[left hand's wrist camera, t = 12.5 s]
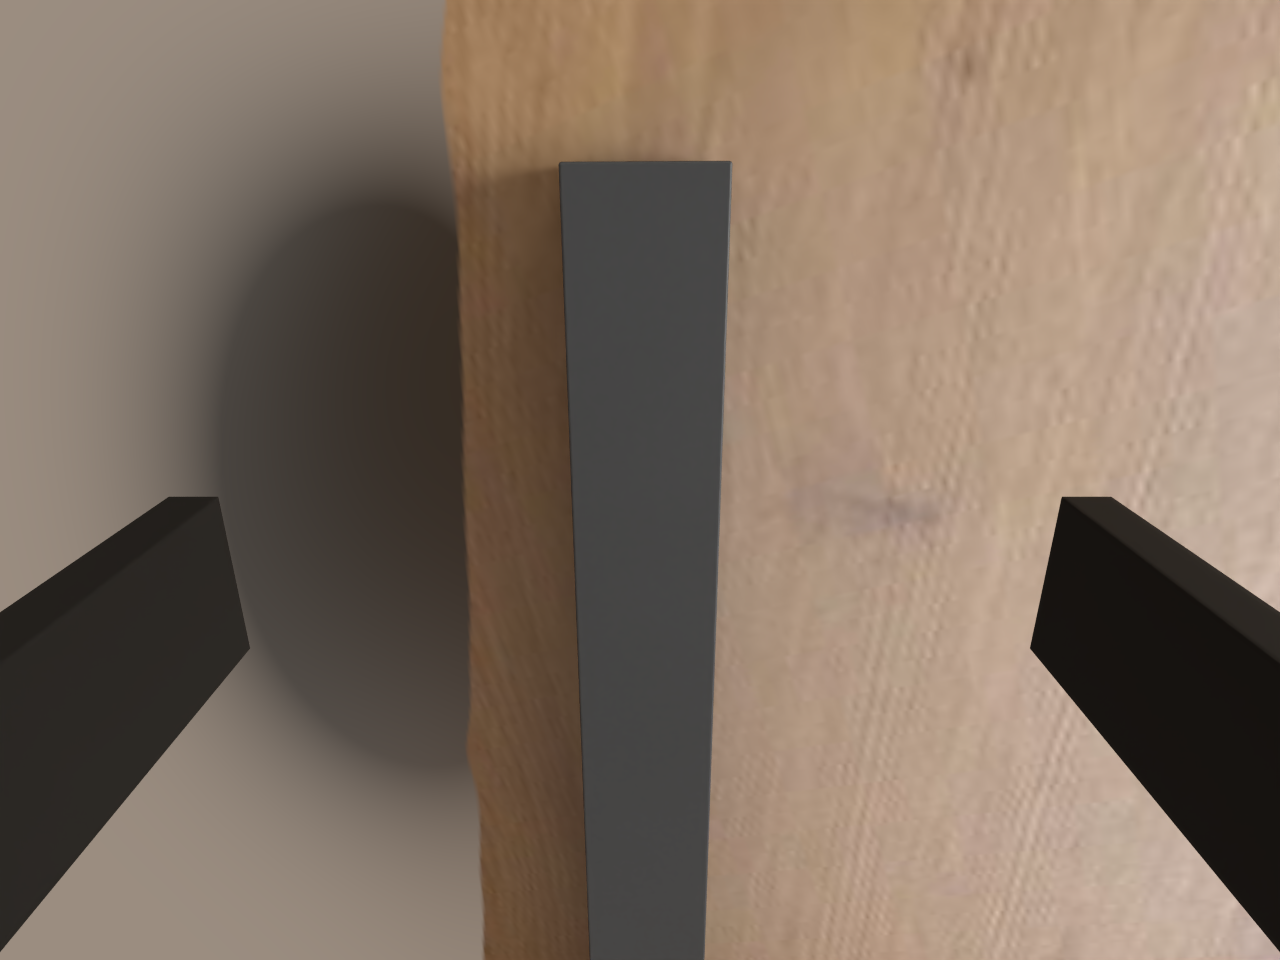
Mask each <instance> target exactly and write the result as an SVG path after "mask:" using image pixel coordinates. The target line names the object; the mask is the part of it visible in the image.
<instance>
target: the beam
mask: <svg viewBox="0 0 1280 960" xmlns="http://www.w3.org/2000/svg"><path fill="white" fill-rule="evenodd" d="M559 186H560V211H561V237H562V262H563V288H564V313H565V339H566V364H567V390H568V415H569V441H570V466H571V492H572V517H573V543H574V568H575V594H576V619H577V645H578V670H579V696H580V721H581V747H582V773H583V798H584V824H585V849H586V875H587V900H588V926H589V951H590V960H704V954H705V925H706V897H707V868H708V840H709V811H710V783H711V755H712V726H713V698H714V669H715V641H716V612H717V584H718V555H719V527H720V499H721V470H722V442H723V413H724V385H725V356H726V328H727V299H728V271H729V242H730V214H731V186H732V162H731V161H627V162H560V163H559Z"/></svg>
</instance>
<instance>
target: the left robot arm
mask: <svg viewBox="0 0 1280 960" xmlns="http://www.w3.org/2000/svg"><path fill="white" fill-rule="evenodd" d="M249 649H250V646H249V642H248V637H247V632H246V627H245V623H244V618H243V613H242V609H241V604H240V599H239V594H238V589H237V584H236V580H235V575H234V570H233V565H232V561H231V556H230V551H229V547H228V542H227V537H226V532H225V528H224V523H223V518H222V513H221V508H220V504H219V499H218V497H168V498H167V499H165V500H164V501H162V502H161V503H159V504H158V505H156V506H155V507H153V508H152V509H150V510H149V511H148V512H146V513H145V514H143V515H142V516H140V517H139V518H137V519H136V520H134V521H133V522H131V523H130V524H129V525H127V526H126V527H124V528H123V529H121V530H120V531H118V532H117V533H115V534H114V535H113V536H111V537H110V538H108V539H107V540H105V541H104V542H102V543H101V544H99V545H98V546H96V547H95V548H94V549H92V550H91V551H89V552H88V553H86V554H85V555H83V556H82V557H80V558H79V559H77V560H76V561H75V562H73V563H72V564H70V565H69V566H67V567H66V568H64V569H63V570H61V571H60V572H58V573H57V574H55V575H54V576H53V577H51V578H50V579H48V580H47V581H45V582H44V583H42V584H41V585H39V586H38V587H37V588H35V589H34V590H32V591H31V592H29V593H28V594H26V595H25V596H23V597H22V598H20V599H19V600H18V601H16V602H15V603H13V604H12V605H10V606H9V607H7V608H6V609H4V610H3V611H1V612H0V951H1V950H2V949H3V948H4V947H5V945H6V944H7V943H8V942H9V940H10V939H11V938H12V937H13V936H14V934H15V933H16V932H17V931H18V930H19V928H20V927H21V926H22V925H23V924H24V922H25V921H26V920H27V919H28V917H29V916H30V915H31V914H32V913H33V911H34V910H35V909H36V908H37V906H38V905H39V904H40V903H41V902H42V900H43V899H44V898H45V897H46V896H47V894H48V893H49V892H50V891H51V889H52V888H53V887H54V886H55V885H56V883H57V882H58V881H59V880H60V879H61V877H62V876H63V875H64V874H65V872H66V871H67V870H68V869H69V868H70V866H71V865H72V864H73V863H74V862H75V860H76V859H77V858H78V857H79V855H80V854H81V853H82V852H83V851H84V849H85V848H86V847H87V846H88V844H89V843H90V842H91V841H92V840H93V838H94V837H95V836H96V835H97V833H98V832H99V831H100V830H101V829H102V828H103V826H104V825H105V824H106V823H107V821H108V820H109V819H110V818H111V817H112V815H113V814H114V813H115V812H116V811H117V809H118V808H119V807H120V806H121V804H122V803H123V802H124V801H125V800H126V798H127V797H128V796H129V795H130V793H131V792H132V791H133V790H134V789H135V787H136V786H137V785H138V784H139V783H140V781H141V780H142V779H143V778H144V776H145V775H146V774H147V773H148V772H149V770H150V769H151V768H152V767H153V766H154V764H155V763H156V762H157V761H158V759H159V758H160V757H161V756H162V755H163V753H164V752H165V751H166V750H167V748H168V747H169V746H170V745H171V744H172V742H173V741H174V740H175V739H176V738H177V736H178V735H179V734H180V733H181V732H182V730H183V729H184V728H185V727H186V725H187V724H188V723H189V722H190V720H191V719H192V718H193V717H194V716H195V714H196V713H197V712H198V711H199V710H200V708H201V707H202V706H203V705H204V704H205V702H206V701H207V700H208V699H209V697H210V696H211V695H212V694H213V693H214V691H215V690H216V689H217V688H218V687H219V685H220V684H221V683H222V682H223V680H224V679H225V678H226V677H227V676H228V674H229V673H230V672H231V671H232V669H233V668H234V667H235V666H236V665H237V663H238V662H239V661H240V660H241V659H242V657H243V656H244V655H245V654H246V652H247V651H248V650H249ZM1030 649H1031V650H1032V651H1033V653H1034V654H1035V655H1036V656H1037V657H1038V659H1039V660H1040V661H1041V662H1042V663H1043V665H1044V666H1045V667H1046V668H1047V670H1048V671H1049V672H1050V673H1051V674H1052V676H1053V677H1054V678H1055V679H1056V680H1057V682H1058V683H1059V684H1060V685H1061V687H1062V688H1063V689H1064V690H1065V691H1066V693H1067V694H1068V695H1069V696H1070V697H1071V699H1072V700H1073V701H1074V702H1075V704H1076V705H1077V706H1078V707H1079V708H1080V710H1081V711H1082V712H1083V713H1084V714H1085V716H1086V717H1087V718H1088V719H1089V721H1090V722H1091V723H1092V724H1093V725H1094V727H1095V728H1096V729H1097V730H1098V732H1099V733H1100V734H1101V735H1102V736H1103V738H1104V739H1105V740H1106V741H1107V742H1108V744H1109V745H1110V746H1111V747H1112V749H1113V750H1114V751H1115V752H1116V753H1117V755H1118V756H1119V757H1120V758H1121V759H1122V761H1123V762H1124V763H1125V764H1126V766H1127V767H1128V768H1129V769H1130V770H1131V772H1132V773H1133V774H1134V775H1135V776H1136V778H1137V779H1138V780H1139V781H1140V783H1141V784H1142V785H1143V786H1144V787H1145V789H1146V790H1147V791H1148V792H1149V793H1150V795H1151V796H1152V797H1153V798H1154V800H1155V801H1156V802H1157V803H1158V804H1159V806H1160V807H1161V808H1162V809H1163V811H1164V812H1165V813H1166V814H1167V815H1168V817H1169V818H1170V819H1171V820H1172V821H1173V823H1174V824H1175V825H1176V826H1177V828H1178V829H1179V830H1180V831H1181V832H1182V834H1183V835H1184V836H1185V837H1186V838H1187V840H1188V841H1189V842H1190V843H1191V845H1192V846H1193V847H1194V848H1195V849H1196V851H1197V852H1198V853H1199V854H1200V855H1201V857H1202V858H1203V859H1204V860H1205V862H1206V863H1207V864H1208V865H1209V866H1210V868H1211V869H1212V870H1213V871H1214V872H1215V874H1216V875H1217V876H1218V877H1219V879H1220V880H1221V881H1222V882H1223V883H1224V885H1225V886H1226V887H1227V888H1228V889H1229V891H1230V892H1231V893H1232V894H1233V896H1234V897H1235V898H1236V899H1237V900H1238V902H1239V903H1240V904H1241V905H1242V907H1243V908H1244V909H1245V910H1246V911H1247V913H1248V914H1249V915H1250V916H1251V917H1252V919H1253V920H1254V921H1255V922H1256V924H1257V925H1258V926H1259V927H1260V928H1261V930H1262V931H1263V932H1264V933H1265V934H1266V936H1267V937H1268V938H1269V939H1270V941H1271V942H1272V943H1273V944H1274V945H1275V947H1276V948H1277V949H1278V950H1279V951H1280V612H1279V611H1277V610H1276V609H1274V608H1273V607H1271V606H1270V605H1268V604H1267V603H1265V602H1264V601H1262V600H1261V599H1260V598H1258V597H1257V596H1255V595H1254V594H1252V593H1251V592H1249V591H1248V590H1246V589H1245V588H1244V587H1242V586H1241V585H1239V584H1238V583H1236V582H1235V581H1233V580H1232V579H1230V578H1229V577H1227V576H1226V575H1225V574H1223V573H1222V572H1220V571H1219V570H1217V569H1216V568H1214V567H1213V566H1211V565H1210V564H1208V563H1207V562H1206V561H1204V560H1203V559H1201V558H1200V557H1198V556H1197V555H1195V554H1194V553H1192V552H1191V551H1189V550H1188V549H1187V548H1185V547H1184V546H1182V545H1181V544H1179V543H1178V542H1176V541H1175V540H1173V539H1172V538H1170V537H1169V536H1168V535H1166V534H1165V533H1163V532H1162V531H1160V530H1159V529H1157V528H1156V527H1154V526H1153V525H1151V524H1150V523H1149V522H1147V521H1146V520H1144V519H1143V518H1141V517H1140V516H1138V515H1137V514H1135V513H1134V512H1133V511H1131V510H1130V509H1128V508H1127V507H1125V506H1124V505H1122V504H1121V503H1119V502H1118V501H1116V500H1115V499H1114V498H1112V497H1062V499H1061V504H1060V508H1059V513H1058V518H1057V523H1056V527H1055V532H1054V537H1053V542H1052V546H1051V551H1050V556H1049V561H1048V565H1047V570H1046V575H1045V580H1044V584H1043V589H1042V594H1041V599H1040V603H1039V608H1038V613H1037V618H1036V623H1035V627H1034V632H1033V637H1032V642H1031V646H1030Z"/></svg>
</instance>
